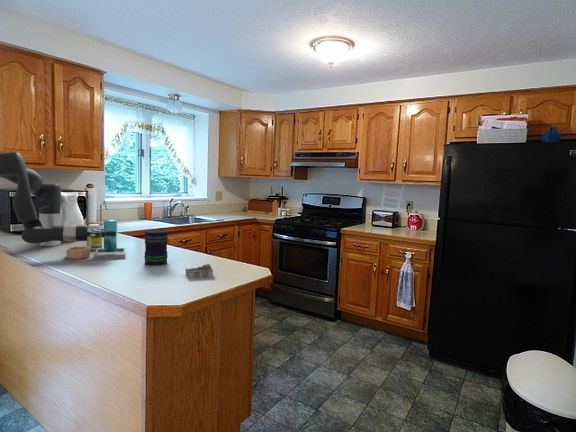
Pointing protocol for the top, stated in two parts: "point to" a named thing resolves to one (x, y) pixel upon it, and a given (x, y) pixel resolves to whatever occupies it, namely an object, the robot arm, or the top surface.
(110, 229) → the bottle
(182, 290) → the top surface
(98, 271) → the top surface
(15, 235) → the top surface
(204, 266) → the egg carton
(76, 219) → the pitcher
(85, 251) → the peach octagonal bowl
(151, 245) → the dark blue barrel
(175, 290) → the top surface
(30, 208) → the robot arm
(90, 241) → the supplement bottle
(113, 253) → the tray
